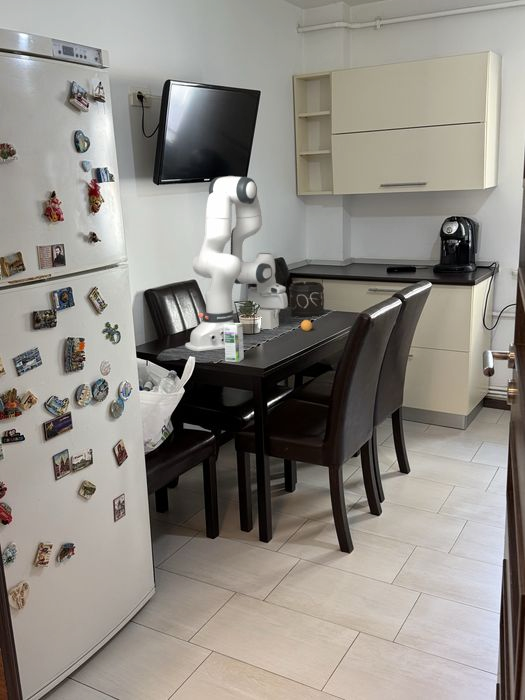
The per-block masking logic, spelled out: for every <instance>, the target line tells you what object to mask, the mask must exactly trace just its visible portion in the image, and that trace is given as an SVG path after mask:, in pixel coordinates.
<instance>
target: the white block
mask: <svg viewBox="0 0 525 700" xmlns="http://www.w3.org/2000/svg"><path fill="white" fill-rule="evenodd" d="M275 313H276V311H275V308H262V309H259V311H258V312H257V313H256V315H257V314H258V315H260V316H261V317H262V319H261V328H262V329H261V330H263V329H272V330H274V329H273V328H275V327H277V328H279V327H278V326H280V324H279V321H280V320H279V317H278V318H274V314H275ZM275 329H276V328H275Z"/></svg>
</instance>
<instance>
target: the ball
mask: <svg viewBox="0 0 525 700" xmlns="http://www.w3.org/2000/svg"><path fill="white" fill-rule="evenodd" d="M300 327H301V330H302V331H304V332H308V331H310V330H311V329H312V328H313V323H312V322H311V321H310V320H308V319H304V320H303V321H301V324H300Z"/></svg>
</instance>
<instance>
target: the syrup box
mask: <svg viewBox="0 0 525 700" xmlns="http://www.w3.org/2000/svg"><path fill="white" fill-rule="evenodd" d="M243 333H244V331H243V322H234V323H227V324H225V325H224V341H225V348H224V353H225V355H224V356H225V358H224V359H225V362H233V363H240V362H241V361H242V360H244V359H245V357H244V334H243Z"/></svg>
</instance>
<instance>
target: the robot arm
mask: <svg viewBox="0 0 525 700" xmlns="http://www.w3.org/2000/svg"><path fill="white" fill-rule="evenodd" d="M257 194H258V187H257V184H256V182H255V180H254V179H253V178H251V177H247V176H234V175H228V176H217V177H215V178H213V179H211V182H210V183H209V186H208V197H207V199H206V206H205V213H204V216H205V217H204V233H203V234H204V235H203V240H202V243H201V247H200V249H199V251H198V253H197V254H196V255H195V256H194V257H193V259H192V263H191V264H192V265H191V266H192V269H193V271H194V272H195V274H197V275H198V276H200V277H203V278H205V279H206V278H207V279H211V284H210V287H209V289H208V290H207V291H206V292H205V294H204V296H205V310H206V311H205V312H204V313H202V312H199V313H198V314H197V315H198V317H199V318H201V319H202V322H200V323H199V324H198V325H197V326H196V327H195V328H194V329H192V331H191V333H190V337H189V338H190V339H189V340H190V341H189V342H185V344H184V345H185V348H186V349H187V350H190V351H193V352H202V351H203V352H204V351H211V350H212V351H213V350H220V349H221V350H222V349H225V341H224V325H225V324H227V323H235V315H234V310H233V288H234V284H236V285H240V284H242V285H244V284H247V285H248V284H249V285H250V284H252V285H253V284H254V285H256V286H255V287H254V286H250V287H249V288H248V289H247V297H246V298H247V301H249V300H250V301H254V302H255V303H257V304H259V305H260V307H261V308H275V311H276V313H275V314H274V318H278V319H279V313H280V311H281V310H284V309H287V308H288V306H289V305H288V304H289V303H288V295H287V293H286V289H287V288H286V286H284V285H282V284H280V283H277V281H276V261H275V256H274V255H273V253H269V252H267V253H266V252H258V253H257V254H256V259H255V260H254V261H253V262H252V261H250V262H249V261H244V260H243V243H244V241H246V239H248V238H250V237H252V236H254V235H256V234H257V233H259V232H260V230H261V228H262V225H263V220H262V219H263V216H262V212H261V211H262V210H261V204H260V200H259V197H258V195H257ZM233 204H234V206H235V216H236V217H235V218H236V219H235V220H236V222H235V227H233V228H232V226H233V225H232V223H233V211H232V206H233ZM228 242H230V253H226V252H224V249H225V246H226V244H227V243H228Z"/></svg>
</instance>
